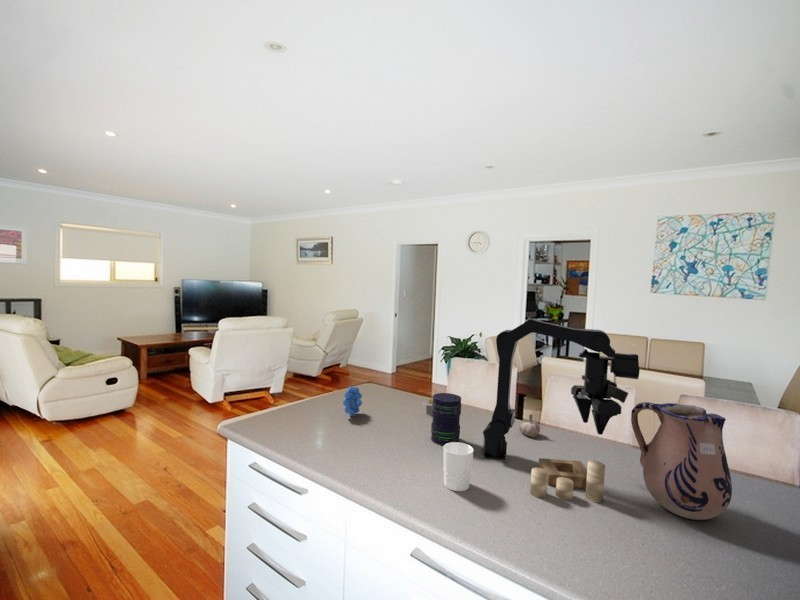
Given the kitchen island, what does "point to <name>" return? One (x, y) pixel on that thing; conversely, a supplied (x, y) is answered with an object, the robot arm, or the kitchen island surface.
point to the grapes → (352, 400)
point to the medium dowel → (539, 482)
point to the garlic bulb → (530, 428)
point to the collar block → (564, 471)
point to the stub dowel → (564, 488)
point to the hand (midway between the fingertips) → (592, 428)
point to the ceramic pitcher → (685, 460)
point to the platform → (429, 407)
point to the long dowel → (595, 481)
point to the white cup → (457, 466)
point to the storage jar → (445, 418)
